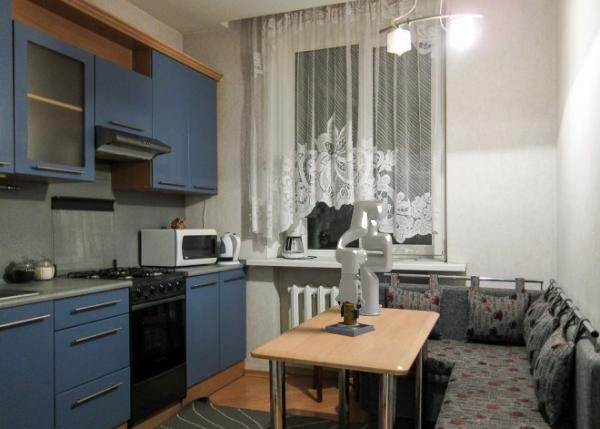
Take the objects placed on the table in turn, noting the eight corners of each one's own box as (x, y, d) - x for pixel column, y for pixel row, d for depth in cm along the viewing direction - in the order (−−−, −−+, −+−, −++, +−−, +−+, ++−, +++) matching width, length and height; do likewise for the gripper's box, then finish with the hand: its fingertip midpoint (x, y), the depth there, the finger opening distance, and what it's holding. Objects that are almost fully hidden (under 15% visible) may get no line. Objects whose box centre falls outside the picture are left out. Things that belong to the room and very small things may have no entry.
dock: (345, 324, 232) (345, 320, 232) (375, 329, 221) (375, 325, 221) (323, 331, 218) (323, 326, 218) (354, 336, 208) (354, 331, 208)
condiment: (359, 325, 218) (359, 298, 218) (340, 326, 216) (340, 298, 216) (355, 322, 225) (355, 295, 225) (337, 322, 224) (337, 295, 224)
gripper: (371, 277, 218) (370, 318, 218) (338, 274, 229) (338, 313, 229) (361, 279, 212) (361, 321, 212) (329, 276, 223) (329, 316, 223)
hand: (349, 317), depth 220 cm, fingers closed on condiment, 6 cm apart
